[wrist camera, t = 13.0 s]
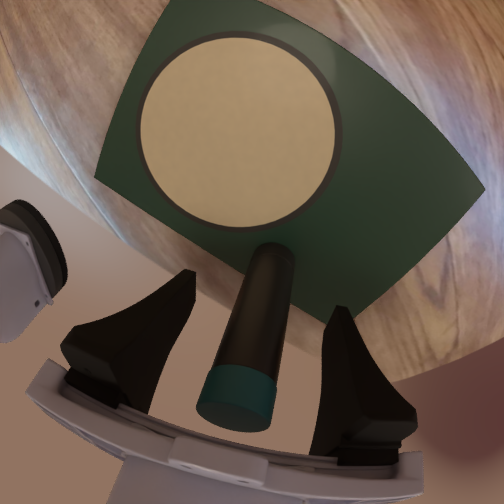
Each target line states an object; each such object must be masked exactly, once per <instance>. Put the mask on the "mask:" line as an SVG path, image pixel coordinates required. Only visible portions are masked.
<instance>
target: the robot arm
mask: <svg viewBox="0 0 504 504" xmlns="http://www.w3.org/2000/svg"><path fill="white" fill-rule="evenodd" d="M195 301H196V272H195V271H191V270H187V269H184V270H183V271H181V272H180V273H179V274H177V275H176V276H175V277H174V278H172V279H171V280H170V281H168V282H167V283H166V284H164V285H163V286H162V287H160V288H159V289H158V290H156V291H155V292H153V293H152V294H150V295H149V296H147V297H146V298H144V299H143V300H141V301H139V302H137V303H136V304H134V305H132V306H130V307H128V308H126V309H124V310H122V311H120V312H118V313H116V314H113V315H111V316H108V317H105V318H103V319H100V320H96V321H93V322H90V323H86V324H82V325H77V326H74V327H73V328H72V330H71V331H70V332H69V333H68V335H67V336H66V338H65V339H64V340H63V341H62V343H61V344H60V347H61V351H62V353H63V355H64V357H65V358H66V360H67V361H68V363H69V365H70V366H71V368H70V369H69V371H67V370H66V369H65V368H64V367H62V366H61V365H59V364H57V363H56V362H54V361H53V360H51V359H47V360H46V362H45V363H44V365H43V366H42V367H41V369H40V370H39V372H38V373H37V375H36V376H35V378H34V379H33V381H32V382H31V384H30V385H29V387H28V388H27V390H26V391H25V393H26V395H27V396H28V397H29V398H30V399H31V400H32V401H33V402H34V403H35V404H36V405H37V406H38V407H39V408H40V409H41V410H42V411H43V412H45V413H46V414H47V415H48V416H50V417H51V418H52V419H54V420H55V421H57V422H58V423H60V424H61V425H63V426H64V427H66V428H67V429H69V430H70V431H72V432H73V433H75V434H76V435H78V436H79V437H81V438H83V439H84V440H86V441H88V442H89V443H91V444H93V445H94V446H96V447H98V448H99V449H101V450H103V451H105V452H107V453H108V454H110V455H112V456H114V457H116V458H118V459H120V460H122V461H124V463H123V465H122V468H121V470H120V472H119V474H118V477H117V479H116V482H115V484H114V486H113V489H112V491H111V493H110V496H109V498H108V501H107V503H106V504H388V503H395V502H398V501H402V500H406V499H409V498H412V497H415V496H418V495H421V494H423V493H424V475H423V452H422V451H413V452H403V453H400V454H399V453H398V448H401V446H402V445H401V441H402V440H403V439H405V438H406V437H408V436H409V435H411V434H412V433H413V432H415V431H416V429H417V427H418V422H417V413H416V409H415V408H414V407H413V406H412V405H410V404H409V403H408V402H407V401H406V400H405V399H404V398H403V397H402V396H401V395H400V394H399V393H398V392H397V391H396V389H394V387H393V386H392V385H391V384H390V382H389V381H388V380H387V378H386V377H385V376H384V375H383V373H382V372H381V370H380V369H379V367H378V366H377V364H376V363H375V361H374V360H373V358H372V356H371V355H370V353H369V351H368V349H367V347H366V345H365V343H364V341H363V339H362V337H361V335H360V333H359V331H358V329H357V327H356V324H355V322H354V320H353V318H352V315H351V313H350V311H349V309H348V307H345V306H340V305H336V307H335V309H334V311H333V313H332V315H331V317H330V319H329V322H328V324H327V326H326V328H325V330H324V333H323V342H322V384H321V397H320V404H319V410H318V416H317V421H316V426H315V431H314V435H313V440H312V444H311V448H310V451H309V455H303V454H295V453H288V452H281V451H275V450H269V449H264V448H258V447H253V446H248V445H244V444H239V443H235V442H231V441H227V440H223V439H219V438H215V437H211V436H208V435H205V434H201V433H198V432H195V431H191V430H188V429H185V428H182V427H179V426H176V425H174V424H171V423H168V422H165V421H162V420H160V419H157V418H155V417H152V416H150V415H148V411H149V408H150V405H151V402H152V398H153V395H154V392H155V389H156V387H157V384H158V381H159V378H160V375H161V373H162V370H163V368H164V365H165V363H166V360H167V358H168V355H169V353H170V351H171V349H172V347H173V345H174V344H175V341H176V340H177V338H178V336H179V335H180V333H181V331H182V329H183V327H184V326H185V324H186V322H187V320H188V318H189V316H190V314H191V311H192V309H193V306H194V304H195ZM46 304H49V305H52V304H53V300H52V297H51V295H50V293H49V290H48V287H47V285H46V282H45V280H44V277H43V274H42V271H41V268H40V265H39V263H38V260H37V256H36V253H35V250H34V247H33V243H32V240H31V237H30V235H29V234H27V233H25V232H22V231H19V230H17V229H14V228H12V227H9V226H7V225H4V224H2V223H0V343H8V342H11V341H13V340H15V339H16V338H17V337H19V336H20V334H21V333H22V332H23V331H24V330H25V328H26V327H27V326H28V325H29V324H30V323H31V321H32V320H33V319H34V318H35V317H36V316H37V314H38V313H39V312H40V311H41V310H42V309H43V307H44V306H45V305H46Z"/></svg>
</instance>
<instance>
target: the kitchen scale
mask: <svg viewBox="0 0 504 504" xmlns="http://www.w3.org/2000/svg"><path fill="white" fill-rule="evenodd" d="M94 178H96V179H97V180H99V181H100V182H102V183H103V184H105V185H106V186H108V187H109V188H111V189H112V190H114V191H115V192H117V193H118V194H120V195H121V196H123V197H124V198H126V199H127V200H129V201H130V202H132V203H133V204H135V205H136V206H138V207H139V208H141V209H142V210H144V211H145V212H147V213H148V214H150V215H151V216H153V217H154V218H156V219H157V220H159V221H160V222H162V223H164V224H165V225H167V226H168V227H170V228H171V229H173V230H174V231H176V232H177V233H179V234H181V235H182V236H184V237H185V238H187V239H188V240H190V241H191V242H193V243H195V244H196V245H198V246H199V247H201V248H202V249H204V250H206V251H207V252H209V253H210V254H212V255H213V256H215V257H217V258H218V259H220V260H221V261H223V262H225V263H226V264H228V265H229V266H231V267H233V268H234V269H236V270H237V271H239V272H241V273H242V274H244V275H245V274H246V271H247V269H248V266H249V263H250V260H251V258H252V255H253V253H254V251H255V249H256V248H257V247H259V246H260V245H262V244H265V243H271V242H272V243H279V244H282V245H284V246H286V247H287V248H288V249H289V250H290V251H291V252H292V253H293V255H294V258H295V269H294V277H293V284H292V292H291V299H290V303H291V304H293V305H295V306H296V307H298V308H300V309H301V310H303V311H305V312H306V313H308V314H310V315H311V316H313V317H315V318H316V319H318V320H320V321H321V322H323V323H325V324H326V325H327V324H328V322H329V319H330V317H331V315H332V313H333V311H334V309H335V307H336V305H340V306H345V307H348V309H349V311H350V313H351V315H352V318H354V317H356V316H357V315H358V314H359V313H361V312H362V311H363V310H364V309H366V308H367V307H368V306H369V305H370V304H372V303H373V302H374V301H375V300H376V299H378V298H379V297H380V296H381V295H382V294H384V293H385V292H386V291H387V290H388V289H389V288H390V287H392V286H393V285H394V284H395V283H396V282H397V281H398V280H400V279H401V278H402V277H403V276H404V275H405V274H406V273H407V272H408V271H409V270H410V269H412V268H413V267H414V266H415V265H416V264H417V263H418V262H419V261H420V260H421V259H422V258H423V257H424V256H425V255H426V254H427V253H428V252H429V251H430V250H431V249H432V248H433V247H434V246H435V245H436V244H437V243H438V242H439V241H440V240H441V239H442V238H443V237H444V236H445V235H446V234H447V233H448V232H449V231H450V230H451V229H452V228H453V227H454V225H455V224H456V223H457V222H458V221H459V220H460V219H461V218H462V217H463V216H464V214H465V213H466V212H467V211H468V210H469V209H470V208H471V206H472V205H473V204H474V203H475V202H476V201H477V199H478V198H479V197H480V196H481V195H482V193H483V192H484V191H485V188H484V186H483V185H482V183H481V182H480V181H479V179H478V178H477V176H476V175H475V174H474V172H473V171H472V170H471V168H470V167H469V166H468V164H467V163H466V162H465V161H464V159H463V158H462V157H461V155H460V154H459V153H458V152H457V151H456V149H455V148H454V147H453V146H452V145H451V143H450V142H449V141H448V140H447V139H446V138H445V137H444V135H443V134H442V133H441V132H440V131H439V130H438V129H437V128H436V127H435V126H434V124H433V123H432V122H431V121H430V120H429V119H428V118H427V117H426V116H425V115H424V114H423V113H422V112H421V111H420V110H419V109H418V108H417V107H416V106H415V105H414V104H413V103H412V102H411V101H409V100H408V99H407V98H406V97H405V96H404V95H403V94H402V93H401V92H400V91H398V90H397V89H396V88H395V87H394V86H393V85H392V84H390V83H389V82H388V81H387V80H386V79H384V78H383V77H382V76H381V75H380V74H378V73H377V72H376V71H375V70H373V69H372V68H371V67H369V66H368V65H367V64H365V63H364V62H363V61H361V60H360V59H359V58H357V57H356V56H355V55H353V54H352V53H350V52H349V51H347V50H346V49H345V48H343V47H342V46H340V45H339V44H337V43H336V42H334V41H332V40H331V39H329V38H328V37H326V36H325V35H323V34H321V33H320V32H318V31H316V30H315V29H313V28H311V27H309V26H308V25H306V24H304V23H302V22H300V21H299V20H297V19H295V18H293V17H291V16H289V15H287V14H285V13H283V12H281V11H279V10H277V9H275V8H273V7H271V6H268V5H266V4H264V3H262V2H259V1H257V0H170V2H169V3H168V5H167V6H166V8H165V10H164V11H163V13H162V15H161V16H160V18H159V20H158V21H157V23H156V25H155V26H154V28H153V30H152V32H151V34H150V35H149V37H148V39H147V41H146V43H145V45H144V47H143V49H142V50H141V52H140V54H139V56H138V58H137V61H136V63H135V65H134V67H133V69H132V71H131V73H130V76H129V78H128V80H127V82H126V85H125V87H124V89H123V92H122V94H121V97H120V99H119V102H118V104H117V107H116V109H115V112H114V115H113V117H112V120H111V123H110V126H109V129H108V132H107V135H106V138H105V141H104V144H103V147H102V151H101V154H100V157H99V161H98V164H97V168H96V172H95V176H94Z"/></svg>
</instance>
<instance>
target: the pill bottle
mask: <svg viewBox="0 0 504 504" xmlns="http://www.w3.org/2000/svg"><path fill="white" fill-rule="evenodd" d="M294 269H295V258H294V255H293V253H292V252H291V251H290V250H289V249H288V248H287V247H286V246H284V245H282V244H279V243H272V242H271V243H265V244H262V245H260V246H259V247H257V248H256V249H255V251H254V253H253V255H252V258H251V260H250V263H249V266H248V269H247V271H246V274H245V277H244V280H243V283H242V285H241V288H240V291H239V294H238V296H237V299H236V302H235V305H234V307H233V310H232V313H231V316H230V318H229V321H228V324H227V327H226V329H225V332H224V335H223V338H222V340H221V343H220V346H219V349H218V351H217V354H216V357H215V359H214V362H213V365H212V368H211V370H210V371H209V373H208V375H207V377H206V381H205V383H204V386H203V388H202V391H201V394H200V396H199V399H198V402H197V405H196V410H197V412H198V414H199V415H200V416H201V417H203V418H204V419H205V420H207V421H209V422H210V423H212V424H214V425H217V426H219V427H222V428H225V429H229V430H233V431H238V432H260V431H264V430H266V429H268V428H269V426H270V424H271V419H272V414H273V409H274V403H275V398H276V393H277V387H276V386H277V380H278V373H279V368H280V363H281V357H282V351H283V344H284V339H285V332H286V326H287V319H288V312H289V306H290V299H291V292H292V284H293V277H294Z"/></svg>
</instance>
